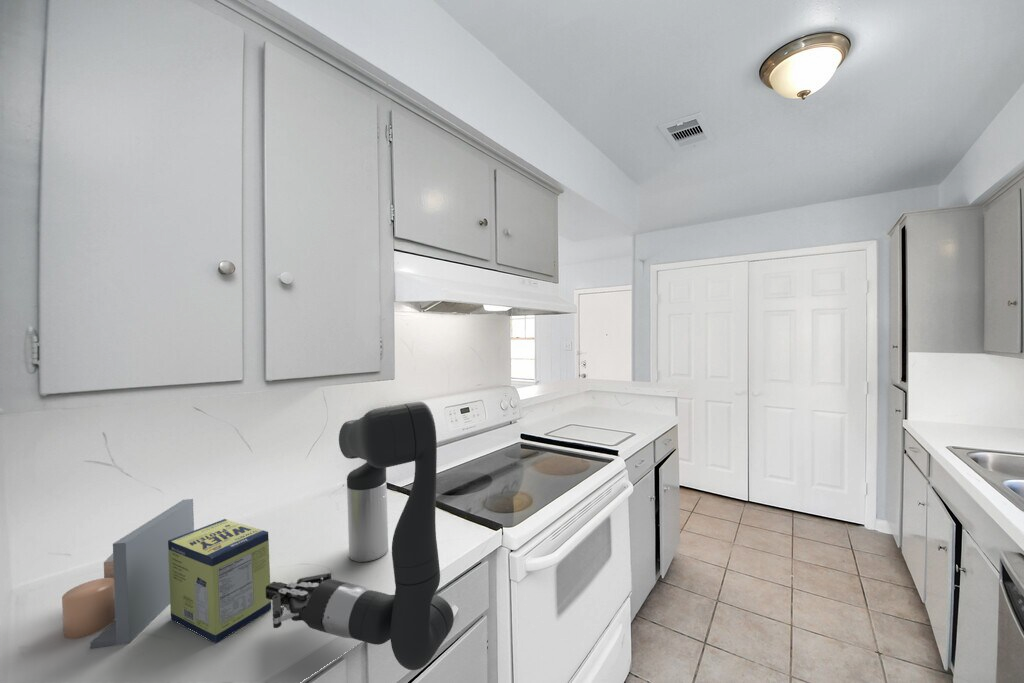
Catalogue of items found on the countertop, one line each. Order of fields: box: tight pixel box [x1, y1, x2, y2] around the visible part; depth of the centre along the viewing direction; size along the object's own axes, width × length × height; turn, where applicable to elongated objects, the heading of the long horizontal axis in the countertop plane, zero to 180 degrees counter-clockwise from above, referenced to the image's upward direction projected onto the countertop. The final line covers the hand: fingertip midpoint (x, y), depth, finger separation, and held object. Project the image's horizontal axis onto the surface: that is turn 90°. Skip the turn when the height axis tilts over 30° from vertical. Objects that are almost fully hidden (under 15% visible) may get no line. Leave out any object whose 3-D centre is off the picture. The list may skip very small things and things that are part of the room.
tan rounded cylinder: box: [61, 577, 116, 640], centre depth 78 cm, size 7×7×7 cm
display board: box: [89, 498, 195, 649], centre depth 82 cm, size 20×6×18 cm, turn 10°
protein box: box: [168, 518, 272, 644], centre depth 80 cm, size 10×16×16 cm
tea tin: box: [103, 553, 114, 579], centre depth 87 cm, size 5×5×9 cm
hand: (269, 589), depth 77 cm, fingers closed
